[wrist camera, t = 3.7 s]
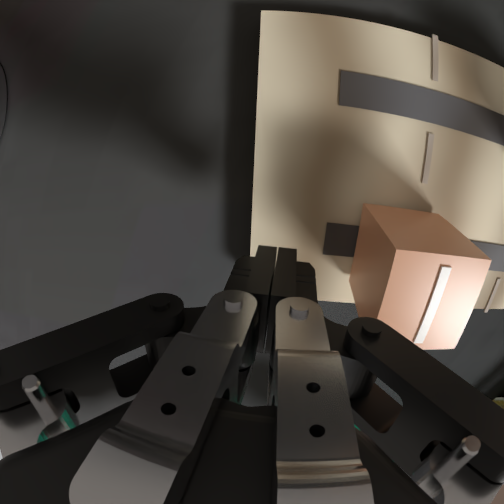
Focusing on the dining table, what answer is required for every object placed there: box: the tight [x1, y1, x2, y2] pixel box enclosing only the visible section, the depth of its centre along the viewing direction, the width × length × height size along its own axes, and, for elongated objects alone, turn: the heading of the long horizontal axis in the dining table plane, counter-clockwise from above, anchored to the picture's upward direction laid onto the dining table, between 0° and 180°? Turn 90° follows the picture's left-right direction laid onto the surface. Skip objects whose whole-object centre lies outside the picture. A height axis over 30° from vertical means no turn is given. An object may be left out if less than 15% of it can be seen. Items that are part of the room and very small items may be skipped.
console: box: [250, 10, 504, 312], centre depth 13 cm, size 18×14×2 cm
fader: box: [349, 203, 492, 350], centre depth 11 cm, size 4×4×5 cm
